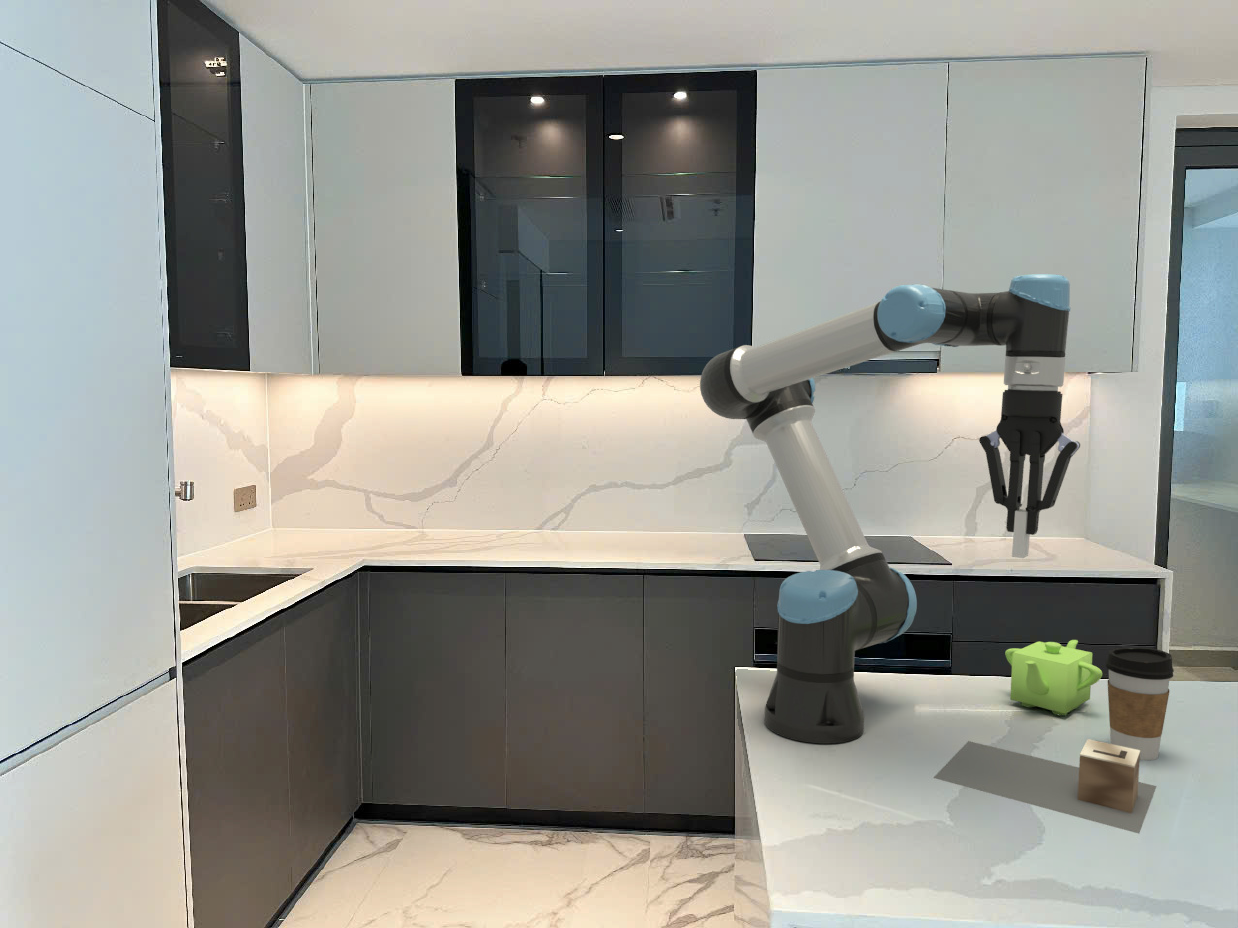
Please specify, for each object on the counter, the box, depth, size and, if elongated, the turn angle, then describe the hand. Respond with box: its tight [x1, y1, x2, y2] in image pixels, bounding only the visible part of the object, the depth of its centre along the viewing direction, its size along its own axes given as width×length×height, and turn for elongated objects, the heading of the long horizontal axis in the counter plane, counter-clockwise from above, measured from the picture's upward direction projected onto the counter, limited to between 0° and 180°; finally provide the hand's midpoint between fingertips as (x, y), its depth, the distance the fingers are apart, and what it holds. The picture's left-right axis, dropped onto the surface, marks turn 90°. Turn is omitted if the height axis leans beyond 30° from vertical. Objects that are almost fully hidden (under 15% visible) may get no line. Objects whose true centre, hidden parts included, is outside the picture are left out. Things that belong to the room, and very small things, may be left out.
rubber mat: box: [933, 740, 1157, 835], centre depth 117 cm, size 24×16×1 cm, turn 53°
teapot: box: [1005, 639, 1103, 716], centre depth 147 cm, size 15×13×11 cm
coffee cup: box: [1105, 647, 1175, 761], centre depth 127 cm, size 8×8×15 cm
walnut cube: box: [1078, 738, 1141, 813], centre depth 113 cm, size 6×6×6 cm
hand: (1020, 555), depth 125 cm, fingers closed
